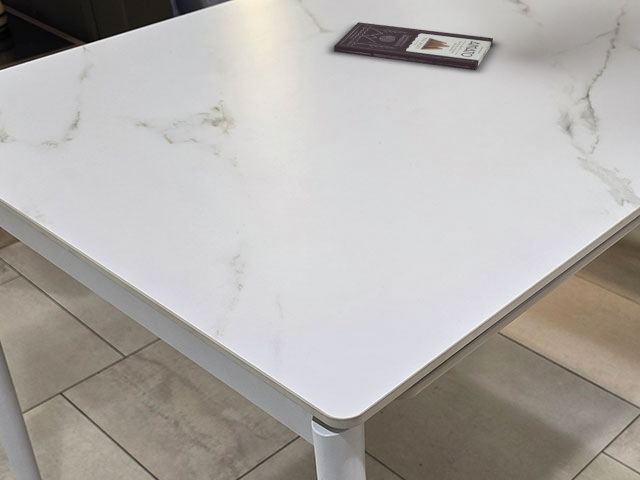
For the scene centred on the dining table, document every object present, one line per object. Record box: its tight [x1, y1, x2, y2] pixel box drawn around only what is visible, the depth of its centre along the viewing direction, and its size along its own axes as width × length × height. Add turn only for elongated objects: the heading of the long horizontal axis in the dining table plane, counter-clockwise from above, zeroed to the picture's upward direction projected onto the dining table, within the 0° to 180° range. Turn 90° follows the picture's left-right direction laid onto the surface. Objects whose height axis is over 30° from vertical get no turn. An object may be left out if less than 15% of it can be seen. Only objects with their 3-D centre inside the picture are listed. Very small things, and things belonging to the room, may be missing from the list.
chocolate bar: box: [333, 21, 494, 71], centre depth 108 cm, size 9×1×18 cm
